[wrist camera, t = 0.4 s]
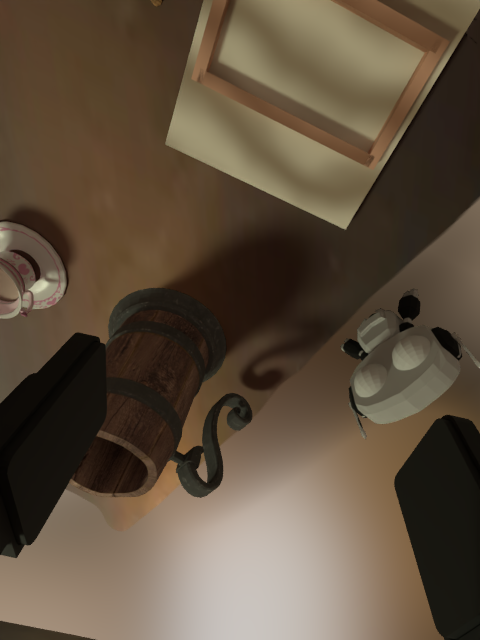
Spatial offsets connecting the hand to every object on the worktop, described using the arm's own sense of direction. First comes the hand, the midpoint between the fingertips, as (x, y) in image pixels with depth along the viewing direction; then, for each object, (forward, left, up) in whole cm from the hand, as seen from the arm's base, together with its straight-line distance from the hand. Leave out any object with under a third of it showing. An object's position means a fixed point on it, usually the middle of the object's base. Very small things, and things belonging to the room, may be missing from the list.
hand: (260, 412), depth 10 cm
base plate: (-11, -2, -31) cm, 33 cm away
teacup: (+22, -26, -31) cm, 46 cm away
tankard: (+25, -2, -31) cm, 40 cm away
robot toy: (+8, +17, -31) cm, 36 cm away
